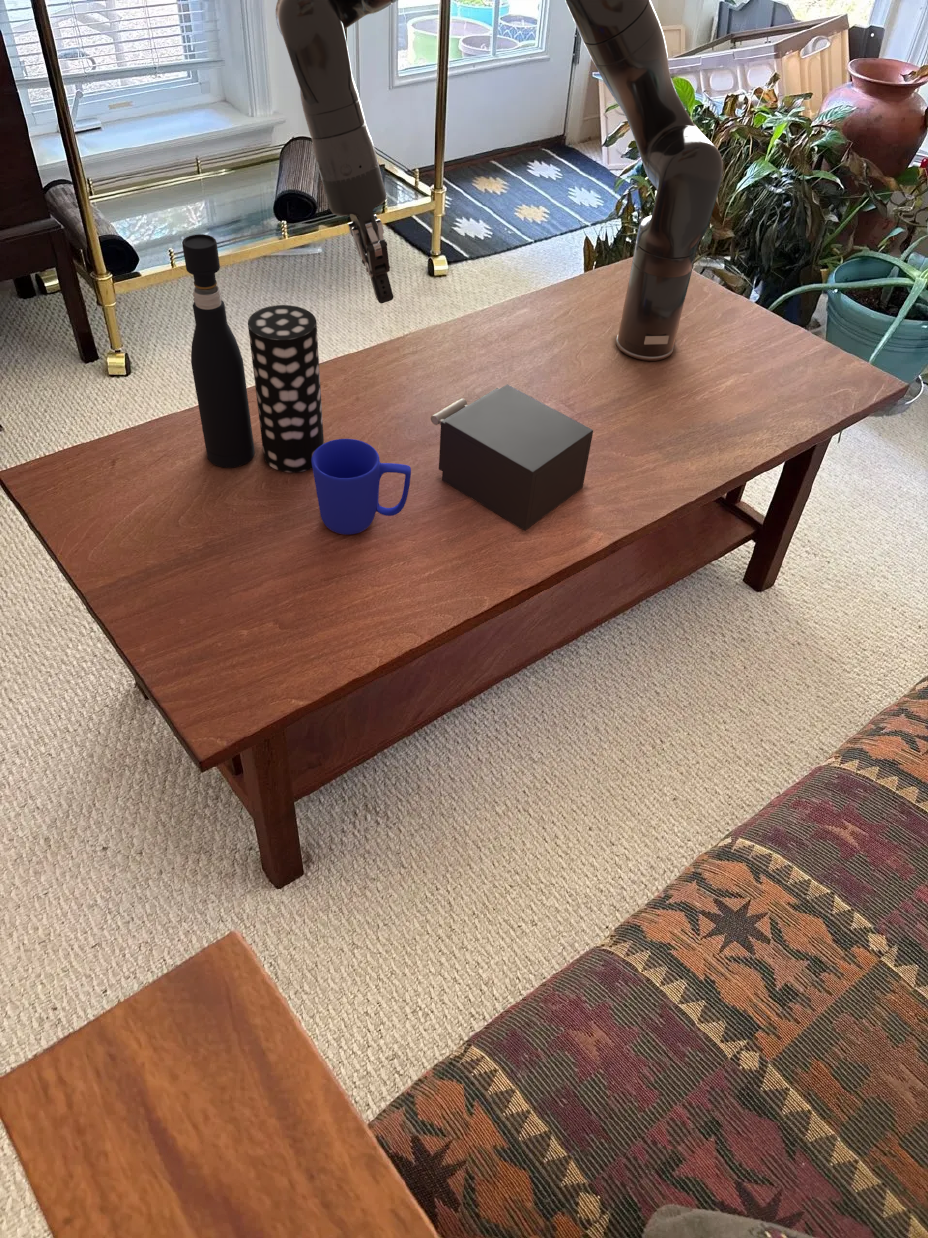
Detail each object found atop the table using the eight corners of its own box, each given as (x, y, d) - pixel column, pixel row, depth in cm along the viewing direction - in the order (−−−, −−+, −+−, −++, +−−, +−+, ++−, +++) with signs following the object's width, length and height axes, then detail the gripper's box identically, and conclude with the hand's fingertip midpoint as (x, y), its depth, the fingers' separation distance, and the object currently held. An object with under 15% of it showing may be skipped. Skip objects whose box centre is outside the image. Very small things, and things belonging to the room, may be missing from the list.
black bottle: (215, 472, 127) (179, 258, 105) (201, 446, 131) (163, 233, 109) (261, 461, 129) (235, 248, 108) (245, 435, 133) (217, 224, 111)
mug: (407, 545, 120) (409, 483, 112) (312, 540, 119) (307, 477, 112) (411, 503, 125) (413, 441, 118) (320, 498, 125) (315, 435, 118)
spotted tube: (292, 428, 135) (280, 298, 120) (336, 451, 132) (330, 320, 117) (250, 456, 130) (233, 323, 116) (296, 480, 127) (284, 347, 112)
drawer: (416, 455, 131) (417, 407, 125) (470, 421, 137) (474, 374, 131) (514, 515, 123) (520, 467, 118) (567, 477, 129) (575, 429, 124)
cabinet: (441, 480, 129) (444, 421, 122) (501, 441, 136) (507, 383, 129) (524, 531, 123) (532, 472, 116) (582, 487, 129) (593, 429, 122)
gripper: (388, 168, 115) (423, 306, 125) (366, 149, 125) (400, 278, 136) (329, 187, 114) (369, 324, 125) (312, 166, 124) (350, 294, 135)
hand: (385, 299), depth 130 cm, fingers closed
